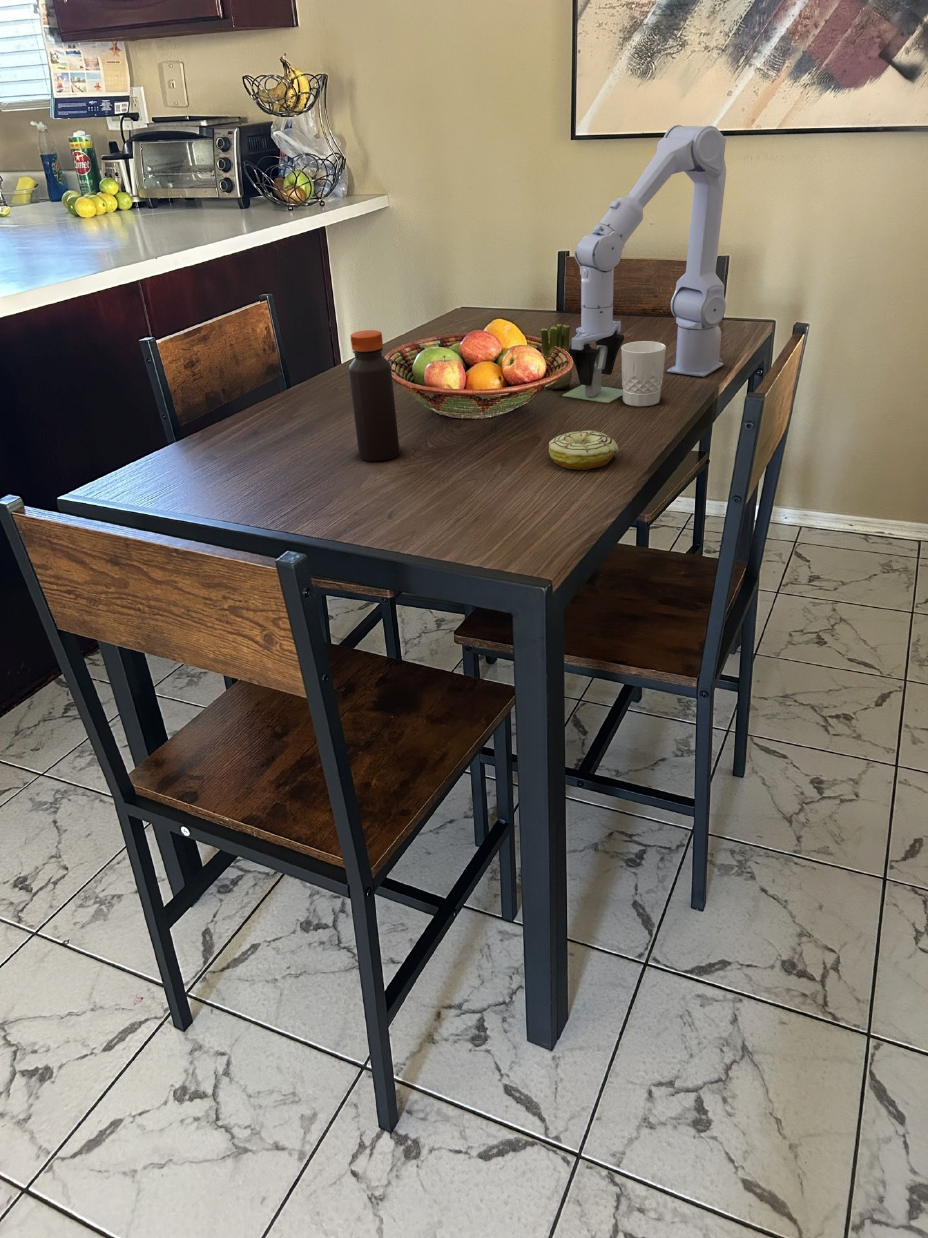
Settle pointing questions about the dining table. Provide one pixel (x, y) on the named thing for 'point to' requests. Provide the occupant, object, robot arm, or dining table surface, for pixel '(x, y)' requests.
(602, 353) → the lighter
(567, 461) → the decorated donut
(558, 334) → the fennel bulb
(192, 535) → the dining table surface
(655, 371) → the white cup
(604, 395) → the sticky note
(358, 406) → the bottle
